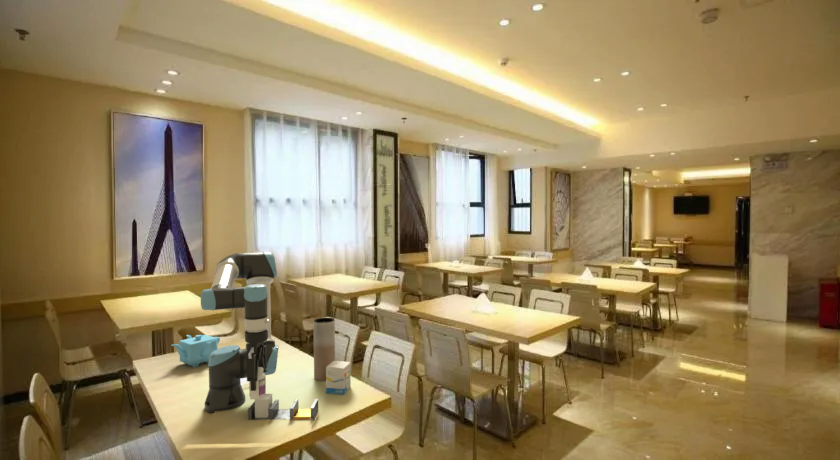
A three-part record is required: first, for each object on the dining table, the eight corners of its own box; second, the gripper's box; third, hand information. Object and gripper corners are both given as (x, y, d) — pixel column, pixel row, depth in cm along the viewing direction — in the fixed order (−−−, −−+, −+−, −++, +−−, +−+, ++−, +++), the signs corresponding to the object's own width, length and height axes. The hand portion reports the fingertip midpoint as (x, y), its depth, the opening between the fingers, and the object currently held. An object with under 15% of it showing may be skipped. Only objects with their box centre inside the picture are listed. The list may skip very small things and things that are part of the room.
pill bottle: (246, 397, 146) (245, 370, 145) (257, 391, 151) (256, 365, 150) (258, 400, 144) (257, 372, 143) (269, 393, 149) (268, 367, 148)
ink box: (344, 394, 181) (343, 368, 181) (325, 393, 183) (325, 366, 182) (351, 386, 190) (350, 361, 189) (333, 385, 191) (333, 360, 191)
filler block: (255, 417, 159) (254, 399, 159) (259, 411, 164) (259, 393, 164) (268, 417, 159) (268, 399, 159) (272, 411, 164) (272, 393, 164)
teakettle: (222, 356, 232) (221, 329, 232) (211, 368, 214) (211, 339, 213) (185, 358, 229) (184, 331, 228) (171, 370, 210) (170, 341, 210)
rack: (247, 422, 157) (247, 409, 157) (255, 412, 165) (255, 399, 165) (313, 421, 158) (313, 408, 158) (318, 411, 166) (318, 398, 166)
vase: (323, 372, 208) (322, 316, 207) (339, 375, 203) (338, 318, 202) (309, 379, 199) (308, 321, 198) (326, 382, 194) (325, 323, 193)
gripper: (258, 337, 137) (259, 406, 138) (275, 322, 156) (276, 384, 157) (234, 337, 137) (236, 407, 138) (255, 322, 155) (256, 384, 156)
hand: (257, 394), depth 147 cm, fingers closed on pill bottle, 5 cm apart
